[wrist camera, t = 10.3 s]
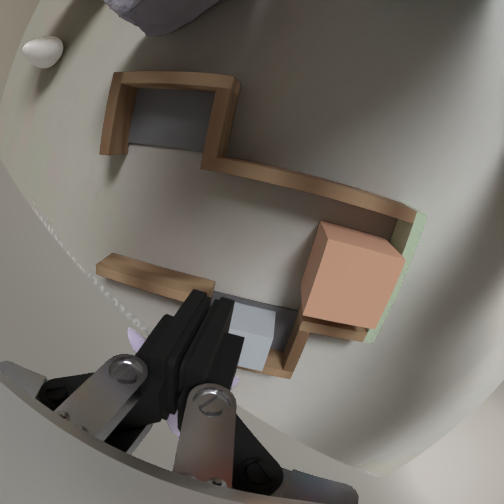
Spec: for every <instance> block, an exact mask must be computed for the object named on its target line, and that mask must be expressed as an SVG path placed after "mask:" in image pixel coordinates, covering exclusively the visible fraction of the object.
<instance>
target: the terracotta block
mask: <svg viewBox="0 0 504 504" xmlns="http://www.w3.org/2000/svg"><path fill="white" fill-rule="evenodd" d="M405 261H406V260H405V258H404V257H403V256H402V255H401V254H400V253H399V252H398V251H397V250H396V249H395V248H394V247H393V246H392V245H391V244H390V243H389V242H388V241H387V240H386V239H385V238H383V237H379V236H376V235H372V234H369V233H365V232H362V231H358V230H355V229H351V228H348V227H344V226H340V225H337V224H333V223H329V222H326V221H322V220H320V222H319V226H318V229H317V233H316V236H315V240H314V243H313V246H312V250H311V253H310V256H309V259H308V263H307V266H306V269H305V272H304V275H303V279H302V282H301V298H302V314H303V315H304V316H309V317H313V318H318V319H323V320H328V321H333V322H338V323H343V324H348V325H353V326H359V327H364V328H370V329H375V328H376V326H377V324H378V322H379V320H380V318H381V316H382V314H383V312H384V310H385V307H386V305H387V303H388V301H389V299H390V297H391V294H392V292H393V290H394V288H395V285H396V283H397V281H398V278H399V276H400V274H401V271H402V269H403V266H404V264H405Z"/></svg>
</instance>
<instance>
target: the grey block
mask: <svg viewBox="0 0 504 504" xmlns="http://www.w3.org/2000/svg"><path fill="white" fill-rule="evenodd" d="M275 315H276V312H274V311H270V310H266V309H261V308H257V307H253V306H249V305H245V304H241V303H237V302H235V304H234V309H233V314H232V318H231V323H230V328H229V333H231V334H234V335H238V336H242V337H245V339H244V343H243V347H242V351H241V355H240V359H239V362H238V366H240V367H244V368H249V369H253V370H258V371H262V370H263V367H264V365H265V362H266V359H267V356H268V353H269V350H270V347H271V344H272V341H273V337H274V326H275Z"/></svg>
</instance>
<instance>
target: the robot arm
mask: <svg viewBox="0 0 504 504" xmlns="http://www.w3.org/2000/svg"><path fill="white" fill-rule="evenodd" d="M234 304H235V300H232V299H228V298H225V297H221V298H220V300H218V299H214V301H213V303H212V305H211V297H208V296H207V292H203V291H200V290H196V289H193V290H192V291H191V293H190V294H189V296H188V297H187V298H186V300H185V301H184V303H183V304H182V306H181V307H180V309H179V310H178V311H177V313H176V314H175V316H171V315H168V314H166V315H164V316H163V317H162V319H161V320H160V321H159V323H158V324H157V325H156V327H155V328H154V330H153V331H152V332H151V334H150V335H149V336H148V338H147V339H146V341H145V342H144V343H143V345H142V346H141V348H140V349H139V350H138V352H137V353H136V355H135V356H134V355H129V354H120V355H116V356H113V357H112V358H111V359H109V360H108V361H107V362H106V363H105V364H104V365H102V366H101V367H100V368H99V369H98V370H97V371H96V372H94V373H88V374H82V375H75V376H69V377H62V378H55V379H51V380H47V378H46V376H43V375H41V374H38V373H36V372H33V371H31V370H29V369H26V368H24V367H22V366H19V365H17V364H15V363H13V362H10V361H2V362H0V504H358V499H359V496H358V494H357V492H356V490H355V489H353V487H352V486H349V485H347V484H344V483H340V482H335V481H332V480H328V479H324V478H320V477H317V476H313V475H310V474H307V473H303V472H300V471H297V470H292V471H290V470H287V469H284V468H281V467H280V465H279V464H278V462H277V461H276V460H275V459H274V458H273V457H272V456H271V455H270V454H269V452H268V451H267V450H266V449H265V448H264V447H263V446H262V445H261V443H260V442H259V441H258V440H257V439H256V437H255V436H254V435H253V434H252V433H251V431H250V430H249V429H248V428H247V427H246V425H245V424H244V423H243V422H242V420H241V419H240V418H239V417H238V415H237V414H236V406H237V405H236V399H235V397H234V395H233V394H232V393H231V392H230V390H231V386H232V383H233V379H234V376H235V373H236V369H237V366H238V362H239V359H240V355H241V351H242V347H243V343H244V339H245V337H242V336H238V335H234V334H231V333H229V328H230V323H231V318H232V314H233V309H234ZM210 306H211V307H210ZM177 409H178V414H177V428H178V429H179V431H180V436H179V441H178V447H177V451H176V456H175V461H174V466H173V472H172V471H169V470H166V469H163V468H161V467H158V466H156V465H153V464H151V463H148V462H145V461H143V460H141V459H138V458H136V457H134V456H132V453H133V452H134V451H135V449H136V448H137V447H138V445H139V444H140V443H141V441H142V440H143V439H144V437H145V436H146V435H147V433H148V432H149V431H150V429H151V427H152V425H153V423H156V422H160V421H161V419H164V420H167V419H168V417H169V415H170V414H172V415H175V414H176V412H177Z"/></svg>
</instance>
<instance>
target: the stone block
mask: <svg viewBox="0 0 504 504" xmlns="http://www.w3.org/2000/svg"><path fill="white" fill-rule="evenodd" d="M218 1H220V0H104V2H105V3H106V4H107V5H108V6H109V7H110V9H112V10H113V11H114V12H116V13H117V14H118V15H119V17H121V18H123V19H124V20H126V21H128V22H130V23H132V24H133V25H135V26H138V27H139V28H140V29H141V30H142V31H143V32H144V33H145V34H146V36H147V37H148V36H162V35H165V34H168V33H171V32H173V31H174V30H176V29H178V28H180V27H181V26H183V25H185V24H188V23H190V22H191V21H193V20H194V19H195V18H196V17H197V16H199V15H200V14H201V13H202V12H204V11H205V10H207V9H208V8H210V7H211V6H213V5H214V4H215V3H217V2H218Z"/></svg>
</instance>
